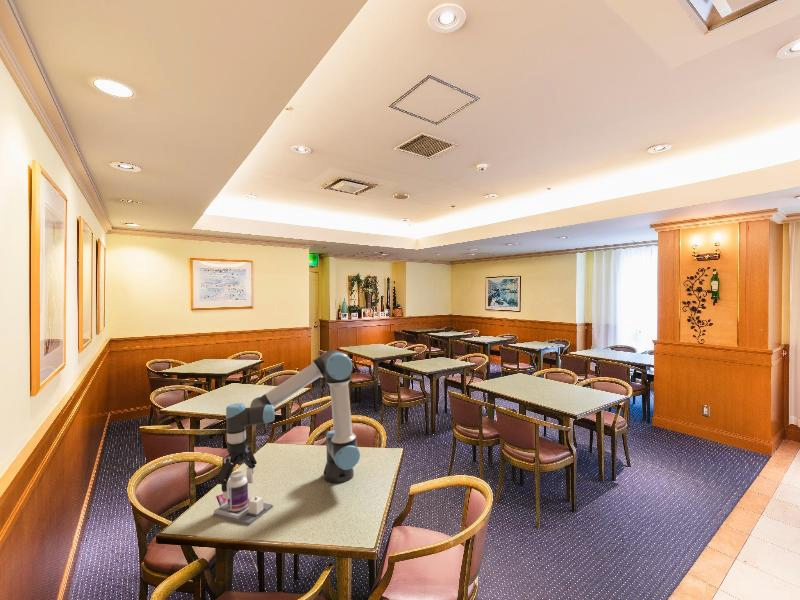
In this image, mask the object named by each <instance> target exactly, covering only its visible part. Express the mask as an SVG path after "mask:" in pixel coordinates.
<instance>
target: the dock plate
mask: <svg viewBox="0 0 800 600" xmlns="http://www.w3.org/2000/svg"><path fill="white" fill-rule="evenodd" d="M273 507H274V505H273V504H270V503H266V502H264V497H261V496H258V495H256V496H254V497H252V498H251V497H248V505H247V507H246V508H245V509H243V510H241V511H237V512H232V511H229V510H228V502H226V503H225V504H223V505H221V506H220V505H219V506H218V507H217V508H216V509H214V510H213V514H212V516H213V517H215V518H218V519H223V520H227V521H230V522H235V523H238V524H239V523H240V524H243V525H247V526H250V525H252V524H253V523H254V522H256V521H257V520H258V519H260V518H261V517H262V516H263V515H264V514H266V513H267V512H268V511H270V510H271V509H273Z"/></svg>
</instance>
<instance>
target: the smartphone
mask: <svg viewBox="0 0 800 600" xmlns="http://www.w3.org/2000/svg"><path fill="white" fill-rule="evenodd" d="M216 500H217V502H218V505H219V507H220V506H221V505H223V504H225V503H226V502H228V499H224V498H223V493H221V494H218V495H216Z"/></svg>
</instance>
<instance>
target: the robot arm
mask: <svg viewBox="0 0 800 600" xmlns="http://www.w3.org/2000/svg"><path fill="white" fill-rule="evenodd" d="M352 371H353V363H352V360H351V358H350V357H349V355H347V354H345V353H344V352H341V351H340V350H336V349H330V350H328V351H325V352H324V353H323V354H321V355H320V356H318V357H316V358H315V359H313V360H312V361H311V364H310V365H307V366H306V367H305V368H303V369H301V370H300V371H299V372H297V373H296V374H294V375H292V376H291V377H289V378H288V379H286V380H285V381H283V382H281V383H280V384H278V385H277V386H275V387H274V388H272V389H270V390H269V391H268V392H266V393H264V394H263V395H261V396H258V397H255V398H253V400H252V401H251V403H250V407H246V405H245V403H242V402H241V403H239V402H238V403H231V404H229V405H228V406H227V407H226V409H225V422H226V423H225V425H226V441H227V443H226V446H227V449H226V451H227V453H228V456H227V457H223V458H222V461H221V462H222V464H221V467H220V470H219V475H218V477H217V481H216V484H217V485H221V492H222V494H223V498H224V499H229V498H230V496H229V483H228V481H229V480H230V475H231V474H232V473H233V470H234V469H235V467H236V466H237V465H238V464H239V463H242V462H243V464H245V465H246V478H247V481H248V484H250V485H251V484H254V469H255V468H256V465H257V460H256V458H255V456H254V454H253V452H252V447H251V446H248V445H247V440H246V439H247V428H246V427H247V426H249V427H250V426H253V425H261V424H268V423H272V422H274V421H275V420H276V419H275V417H276V416H275V415H276V414H275V407H276V406H277V405H279V404H281V403H283V402H284V401H285V400H287V399H288V398H290V397H292V396H293V395H295V394H296V393H298V392H299V391H301V390H302V389H304V388H305V387H307V386H309V385H310V384H311V383H313V382H314V381H316V380H318V379H319V378H325V382H326V384H327V385H329V390H330V391H329V392H330V404H331V405H330V406H331V414H332V415H331V416H332V424H333V429H332V430H329V431H327V432H326V438H325V439H326V441H325V442H326V463H325V467H324V470H323V474H322V475H323V476H322V477H323V480H324V481H325V482H329V483H333V484H336V483H337V484H339V483H344V482H347V481H349V480H351V479H352V478H354V474H355V473H354V472H355V471H354V468H355V466H356V465H358V463H359V462H360V458H361V453H360V449H359V448H358V442H357V435H356V434H355V433H354V432H353V424H352V423H353V422H352V412H351V411H352V410H351V401H350V389H349V388H350V387H349V383H350V381H352V374H351V373H352Z"/></svg>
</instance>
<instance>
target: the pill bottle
mask: <svg viewBox="0 0 800 600" xmlns="http://www.w3.org/2000/svg"><path fill="white" fill-rule="evenodd" d="M228 483H229V496H230V498H229V499H228V510H229V511H232V512H237V511H241V510H243V509H245V508H246V507H247V505H248V498H249V489H248V488H249V487H248V485H249V483H248V481H247V476H246V477H245V472H244V471H242V470H241V471H234V472H232V473H231V475H230V477H229V480H228Z"/></svg>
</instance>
